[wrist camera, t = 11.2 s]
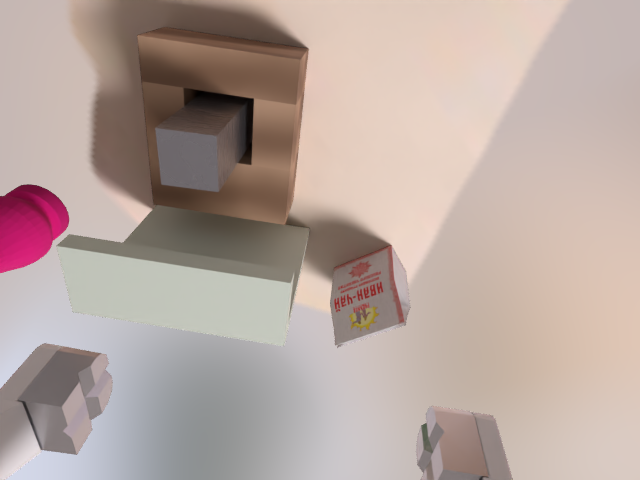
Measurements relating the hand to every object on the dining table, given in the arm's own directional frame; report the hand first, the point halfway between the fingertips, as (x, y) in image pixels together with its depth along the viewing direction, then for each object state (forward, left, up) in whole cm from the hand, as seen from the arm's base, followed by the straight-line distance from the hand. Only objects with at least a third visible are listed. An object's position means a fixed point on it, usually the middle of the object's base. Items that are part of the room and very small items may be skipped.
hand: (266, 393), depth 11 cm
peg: (+3, -9, -31) cm, 33 cm away
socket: (+4, -9, -31) cm, 33 cm away
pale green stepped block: (+12, -9, -31) cm, 34 cm away
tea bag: (+18, +6, -31) cm, 37 cm away
